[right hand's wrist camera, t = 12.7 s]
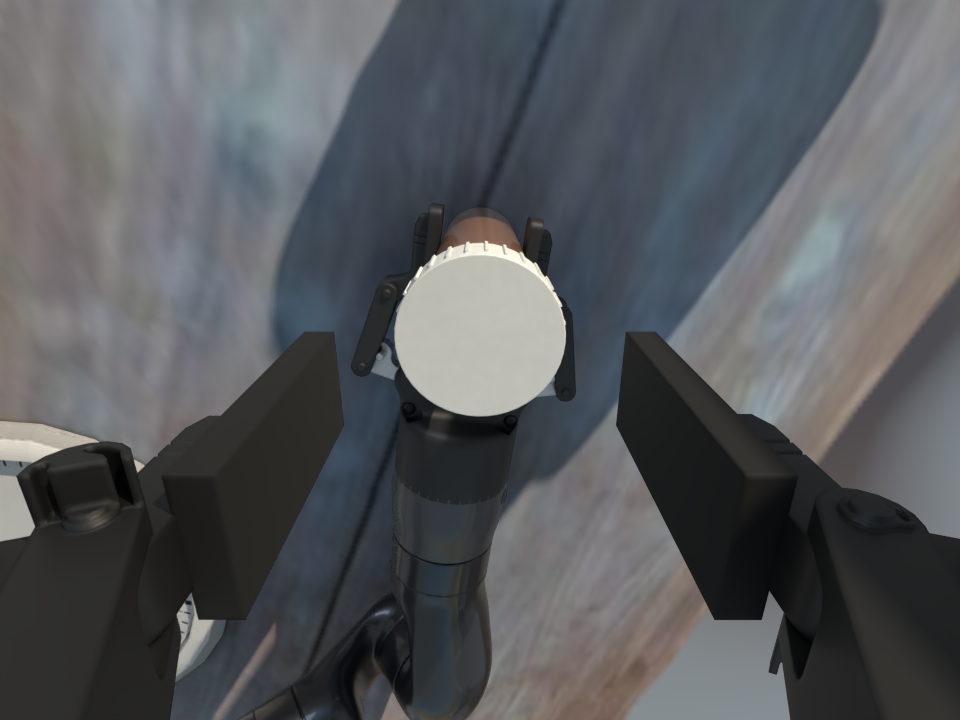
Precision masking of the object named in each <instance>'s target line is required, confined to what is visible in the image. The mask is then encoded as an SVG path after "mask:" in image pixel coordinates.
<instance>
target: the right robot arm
mask: <svg viewBox="0 0 960 720" xmlns="http://www.w3.org/2000/svg"><path fill="white" fill-rule="evenodd" d="M343 426H344V422H343V412H342V403H341V394H340V384H339V375H338V365H337V356H336V346H335V337H334V332H304V333H303V334H302V335H301V336H300V337H299V338H298V339H297V340H296V341H295V342H294V343H293V344H292V345H291V346H290V347H289V348H288V349H287V350H286V351H285V352H284V353H283V354H282V355H281V356H280V357H279V358H278V359H277V360H276V361H275V362H274V363H273V364H272V365H271V366H270V367H269V368H268V369H267V370H266V371H265V372H264V373H263V374H262V375H261V376H260V377H259V378H258V379H257V380H256V381H255V382H254V383H253V384H252V385H251V386H250V387H249V388H248V389H247V390H246V391H245V392H244V393H243V394H242V395H241V396H240V397H239V398H238V399H237V400H236V401H235V402H234V403H233V404H232V405H231V406H230V407H229V408H228V409H227V410H226V411H225V412H224V413H223V414H222V415H221V416H208V417H206V418H204V419H202V420H200V421H198V422H196V423H194V424H192V425H191V426H189V427H187V428H185V429H184V430H183V431H182V432H181V433H180V434H179V435H178V436H177V437H176V438H174V439H173V440H172V441H171V445H167V446H166V447H165V448H164V449H163V450H162V451H160V452H159V453H158V457H154V458H153V459H152V460H151V461H150V462H149V463H147V464H146V465H145V466H144V467H143V468H142V469H141V470H140V471H139V472H138V473H137V470H136V466H135V462H134V459H133V455H132V451H131V448H129V447H128V446H126V445H124V444H123V443H117V442H108V441H107V442H95V443H87V444H82V445H78V446H74V447H69V448H66V449H63V450H60V451H57V452H55V453H52V454H49V455H47V456H44V457H43V458H41V459H39V460H37V461H35V462H33V463H32V464H30V465H28V466H27V467H26V468H24V469H23V470H22V471H21V472H20V473H19V474H18V475H17V476H16V477H17V480H18V483H19V485H20V488H21V491H22V493H23V496H24V499H25V501H26V504H27V507H28V509H29V512H30V515H31V517H32V520H33V523H34V525H35V528H34V530H33V531H32V533H31V535H30V536H26V537H21V538H16V539H11V540H5V541H0V720H170V715H171V708H172V701H173V694H174V687H175V680H176V673H177V666H178V659H179V652H180V645H181V630H180V625H179V621H178V618H177V613H178V612H179V610H180V609H181V607H182V606H183V604H184V603H185V601H186V600H187V598H188V597H189V595H190V594H191V593H192V597H193V601H194V605H195V609H196V613H197V617H198V620H246V618H247V616H248V614H249V612H250V610H251V608H252V606H253V604H254V602H255V600H256V598H257V596H258V594H259V592H260V590H261V588H262V586H263V584H264V582H265V580H266V578H267V576H268V574H269V572H270V570H271V568H272V566H273V564H274V562H275V560H276V558H277V556H278V554H279V552H280V550H281V548H282V546H283V545H284V543H285V541H286V539H287V537H288V535H289V533H290V531H291V529H292V527H293V525H294V523H295V521H296V519H297V517H298V515H299V513H300V511H301V509H302V507H303V505H304V503H305V501H306V499H307V497H308V495H309V493H310V491H311V489H312V487H313V485H314V483H315V481H316V479H317V477H318V475H319V473H320V471H321V469H322V467H323V465H324V463H325V461H326V460H327V458H328V456H329V454H330V452H331V450H332V448H333V446H334V444H335V442H336V440H337V438H338V436H339V434H340V432H341V430H342V428H343ZM616 426H617V428H618V430H619V432H620V434H621V436H622V438H623V440H624V442H625V444H626V446H627V448H628V450H629V452H630V454H631V456H632V458H633V460H634V461H635V463H636V465H637V467H638V469H639V471H640V473H641V475H642V477H643V479H644V481H645V483H646V485H647V487H648V489H649V491H650V493H651V495H652V497H653V499H654V501H655V503H656V505H657V507H658V509H659V511H660V513H661V515H662V517H663V519H664V521H665V523H666V525H667V527H668V529H669V531H670V533H671V535H672V537H673V539H674V541H675V543H676V545H677V546H678V548H679V550H680V552H681V554H682V556H683V558H684V560H685V562H686V564H687V566H688V568H689V570H690V572H691V574H692V576H693V578H694V580H695V582H696V584H697V586H698V588H699V590H700V592H701V594H702V596H703V598H704V600H705V602H706V604H707V606H708V608H709V610H710V612H711V614H712V616H713V618H714V619H715V620H762V617H763V612H764V609H765V605H766V601H767V597H768V593H769V591H770V592H771V594H772V595H773V597H774V598H775V600H776V601H777V603H778V604H779V606H780V607H781V609H782V610H783V612H784V614H783V618H782V621H781V625H780V628H779V632H778V636H777V639H776V643H775V647H774V650H773V654H772V657H771V661H770V667H769V673H773V674H777V672H778V668H779V665H780V663H781V662H782V664H783V671H784V678H785V685H786V692H787V699H788V706H789V713H790V720H960V539H958V538H952V537H947V536H942V535H936V534H931V533H929V532H928V530H927V528H926V527H925V525H924V524H923V523H922V522H921V521H920V520H919V519H918V518H917V517H916V516H915V514H913V513H911V512H910V511H908V510H907V509H905V508H904V507H902V506H901V505H899V504H898V503H895V502H893V501H891V500H888V499H886V498H884V497H882V496H879V495H876V494H872V493H869V492H865V491H861V490H858V489H849V488H841V487H840V486H839V485H838V484H837V483H836V482H835V481H834V480H833V479H832V478H831V477H829V476H828V475H827V474H826V473H825V472H824V471H823V470H822V469H821V468H820V467H819V466H817V465H816V464H815V463H814V462H813V461H812V460H811V459H810V458H809V457H808V456H807V455H803V454H802V451H801V450H800V449H799V448H798V447H797V446H796V445H795V444H793V443H790V440H789V439H788V438H787V437H786V436H785V435H784V434H783V433H781V432H780V431H779V430H778V429H777V428H776V427H775V426H773V425H772V424H770V423H768V422H766V421H764V420H762V419H760V418H758V417H756V416H754V415H752V414H737V413H736V412H735V411H734V410H733V409H732V408H731V407H730V406H729V405H728V404H727V403H726V402H725V401H724V400H723V399H722V398H721V397H720V396H719V395H718V394H717V393H716V392H715V391H714V390H713V389H712V388H711V387H710V386H709V385H708V384H707V383H706V382H705V381H704V380H703V379H702V378H701V377H700V376H699V375H698V374H697V373H696V372H695V371H694V370H693V369H692V368H691V367H690V366H689V365H688V364H687V363H686V362H685V361H684V360H683V359H682V358H681V357H680V356H679V355H678V354H677V353H676V352H675V351H674V350H673V349H672V348H671V347H670V346H669V345H668V344H667V343H666V342H665V341H664V340H663V339H662V338H661V337H660V336H659V335H658V334H657V333H656V332H626V337H625V346H624V356H623V365H622V375H621V384H620V394H619V403H618V412H617V422H616Z"/></svg>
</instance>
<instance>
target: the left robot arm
mask: <svg viewBox="0 0 960 720" xmlns="http://www.w3.org/2000/svg"><path fill="white" fill-rule="evenodd" d="M443 216H444V205H441V204H434V203H432V204H431V205H430V208H429V214H427V213H422V214H421V215H420V216H419V218H418V220H417V222H416V224H415V232H414V243H413V254H412V265H411V270H410V271H408V272H407V273H403V274H399V275H388V276H387V277H386V278H385V279H384V280H383V281H382V283H381V284H380V285H379V287H378V288H377V290H376V293H375V296H374V299H373V302H372V305H371V308H370V311H369V314H368V317H367V320H366V323H365V326H364V328H363V331H362V334H361V337H360V340H359V343H358V346H357V349H356V352H355V355H354V358H353V361H352V364H351V368H352V371H353V372H354V373H355V374H356V375H358V376H362V377H363V376H367V375H368V374H369V373H370V372H372V373H375V374H377V375H380V376H383V377H386V378H388V379H391V380H394V383H395V386H396V389H397V390H398V393H399V395H400V400H401V406H400V417H399V427H398V438H397V449H396V460H395V471H394V474H393V477H392V489H393V493H392V509H393V534H392V544H391V555H390V572H389V573H390V584H391V587H392V591H391V592H389V593H388V594H386V595H385V596H384V597H382V598H381V599H380V600H379V601H378V602H377V603H375V604H374V605H373V606H372V607H371V608H370V610H369V611H368V612H367V613H366V614H365V615H364V616H363V617H362V618H361V619H360V620H359V621H358V622H357V623H356V624H355V626H354V627H353V628H352V629H351V630H350V631H349V632H348V633H347V634H346V635H345V636H344V637H343V638H342V639H341V640H340V641H339V642H338V643H337V644H336V645H335V646H334V647H333V648H332V649H331V650H330V651H329V652H328V653H327V654H326V655H325V656H324V657H323V659H322V660H321V661H320V662H319V663H318V664H317V665H316V666H315V667H314V668H313V669H312V670H311V671H309V672H308V673H307V674H306V675H304V676H303V677H301V678H299V679H298V680H296V681H295V682H293V683H292V685H289V686H287V687H286V688H284V689H283V690H281V691H279V692H278V693H276V694H275V695H273V696H272V697H270V698H269V699H267V700H266V701H264V702H263V703H261V704H260V705H258V706H257V707H255V709H252V710H251V711H249V712H248V713H246V714H245V715H243V716H242V717H240V718H239V719H238V720H366V719H365V715H364V710H363V700H364V698H365V696H366V694H367V692H368V691H369V689H370V688H371V686H372V685H373V683H374V682H375V681H376V679H377V678H378V677H379V676H380V675H381V674H383V675H384V677H385V679H386V680H387V682H388V684H389V686H390V688H391V689H392V691H393V693H394V695H395V697H396V699H397V701H398V703H399V704H400V706H401V708H402V710H403V711H404V713H405V714H406V716H407V717H408V718H409V719H410V720H465V719H466V718H468V716H469V715H470V714H471V713H472V712H473V711H474V709H475V708H476V707H477V705H478V704H479V702H480V700H481V698H482V696H483V694H484V692H485V689H486V687H487V683H488V680H489V676H490V671H491V663H492V641H491V630H490V619H489V608H488V600H487V594H486V589H485V577H486V572H487V566H488V561H489V556H490V550H491V544H492V539H493V535H494V532H495V529H496V527H497V524H498V521H499V518H500V515H501V510H502V506H503V504H504V501H505V498H506V494H507V486H506V484H507V479H508V473H509V468H510V462H511V457H512V452H513V446H514V441H515V435H516V430H517V425H518V419H519V416H520V413H521V412H522V410H523V409H524V407H525V406H526V405H527V404H528V403H529V402H528V403H526V404H525V405H523V406H521V407H519V408H517V409H515V410H512V411H509V412H506V413H503V414H499V415H493V416H466V415H462V414H457V413H454V412H451V411H448V410H445V409H443V408H441V407H439V406H437V405H435V404H434V403H432V402H431V401H429V400H428V399H426V398H425V397H424V396H423V395H422V394H420V393H419V392H418V391H417V390H416V389H415V387H414V386H413V385H412V384H411V383H410V381H409V380H408V378H407V377H406V375H405V374H404V372H403V370H402V368H401V366H400V363H399V361H397V360H396V359H395V357H394V345H393V343H392V342H391V341H390V340H388V339H386V338H385V336H386V334H387V331H388V328H389V325H390V322H391V319H392V317H393V314H394V311H395V308H396V305H397V303H398V300H402V299H403V297H405V296H404V295H403V293H404V291H405V289H406V288H407V286H408V284H409V282H410V281H412V282H413V280H414V277H415V275H416V273H417V271H418V269H419V268H420V267H422V268H423V267H424V266H425V265H426V264H427V263H428V262H429V261H430V260H431V258H432V256H433V255H436V253H437V250H438V248H439V246H440V244H441V235H442V225H443ZM551 247H552V240H551V235H550V233H549V232H548V230H543V220H542V219H541V218H534V217H528V220H527V225H526V231H525V237H524V243H523V249H522V250H523V253H524V255H525V257H526V258H527V259H528V260H530V261H531V262H532V263H533V264H534V263H536V264H537V265H538V267H539V269H540V271H541V273H542V274H543V275H544V277H546V274H547V268H548V263H549V258H550V252H551ZM557 297H558V299H559V300H560V302H561V304H562V307H560V308H561V310H562V313H563V317H564V320H565V322H566V325H565V330H566V340H565V348H564V354H563V357H562V360H561V363H560V365H559V368H558V370H557V372H556V374H555V375H554V377H553V378H552V380H551V381H550V383H549V384H548V385H547V386H546V387H545V389H544V390H543V391H542V392H541V393H540V394H538V395H537V396H536V397H544V396H554V395H556V396H557V398H558V399H559V400H561V401H565V402H566V401H570V400H572V399H573V398H574V396H575V394H576V386H575V364H574V343H573V321H572V313H571V311H570V309H569V308H568V307H567V304H566V302H565V301H564V299H563V298H561V297H559V296H557Z"/></svg>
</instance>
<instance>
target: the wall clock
mask: <svg viewBox="0 0 960 720" xmlns="http://www.w3.org/2000/svg"><path fill="white" fill-rule="evenodd" d="M95 442H98V441H97V440H95V439H92V438H88V437H85V436H81V435H78V434H74V433H71V432H67V431H64V430H60V429H57V428H53V427H50V426H46V425H43V424H33V423H19V422H5V421H0V541H5V540H11V539H16V538H21V537H26V536H30V535H31V533H32V531H33V530H34V528H35V525H34V523H33V520H32V517H31V515H30V512H29V509H28V507H27V504H26V501H25V499H24V496H23V493H22V491H21V488H20V485H19V483H18V480H17V477H16V476H17V475H18V474H19V473H20V472H21V471H22V470H23V469H24V468H26V467H27V466H28V465H30V464H32V463H33V462H35V461H37V460H39V459H41V458H43V457H44V456H47V455H49V454H52V453H55V452H57V451H60V450H63V449H66V448H69V447H74V446H78V445H82V444H87V443H95ZM134 462H135V466H136V470H137V473H138V472H139V471H140V470H141V469H142V468H143V467H144V465H143V464H141V463H139V462H138V461H136V460H134ZM177 618H178V621H179V625H180V630H181V645H180V652H179V659H178V666H177V673H176V680H175V682H177V681H179V680H180V679H181V678H183V677H184V676H185V675H187V674H188V673H190V672H191V671H192V670H194V669H195V668H196V667H198V666H199V665H200V664H202V663H203V662H204V661H205V660H206V658H207V657H208V655H209V654H210V653H211V651H212V650H213V648H214V647H215V645H216V644H217V642H218V641H219V640H220V638H221V637H222V635H223V633H224V629H225V625H226V621H227V620H198V617H197V613H196V609H195V605H194V601H193V597H192V593H191V594H190V595H189V597H188V598H187V600H186V601H185V603H184V604H183V606H182V607H181V609H180V610H179V612H178V613H177Z"/></svg>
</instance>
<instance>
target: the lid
mask: <svg viewBox="0 0 960 720" xmlns="http://www.w3.org/2000/svg"><path fill="white" fill-rule="evenodd" d="M553 290H554V288H553V286H552V284H551V282H550V281H549V279H548V277H547V276H546V277H544V275H543V274H542V273H541V271H540V269H539V267H538V265H537V264H536V263H534V264H533V263H532V262H531V261H530V260H528V259H527V258H526V257H524V254H523V253H522V252H520V253H518V252H516V251H514V250H511V249H509V248H507V246H506V245H504V244H503V246H500V245H496V244H489V243H488V241H485V243H471V244H470V243H469V242H466V244H464V245H460V246H457V247H453V248H452V247H451V246H450V247H448V250H446V251H444V252H442V253H441V254H439V255H437V256H436V255H433V256H432V258H431V260H430V261H429V262H428V263H427V264H426V265H425V266H424V267H423V268H422V267H420V268H419V269H418V271H417V273H416V275H415V277H414V280H413V282H412V281H410V282H409V284H408V286H407V288H406V289H405V291H404V293H403V295H404V296H405V297H403V299H402V301H401V303H400V304H399V306H398V308H397V311H396V312H397V317H396V322H395V327H394V340H395V349H396V353H397V358H398V360H399V363H400V366H401V368H402V370H403V372H404V374H405V375H406V377H407V378H408V380H409V381H410V383H411V384H412V385H413V386H414V387H415V389H416V390H417V391H418V392H419V393H420V394H422V395H423V396H424V397H425V398H426V399H428V400H429V401H431V402H432V403H434V404H435V405H437V406H439V407H441V408H443V409H445V410H448V411H451V412H454V413H457V414H462V415H466V416H493V415H499V414H503V413H506V412H509V411H512V410H515V409H517V408H519V407H521V406H523V405H525V404H526V403H528V402H529V401H531V400H532V399H534V398H535V397H536V396H537V395H538V394H540V393H541V392H542V391H543V390H544V389H545V387H546V386H547V385H548V384H549V383H550V381H551V380H552V378H553V377H554V375H555V374H556V372H557V370H558V368H559V365H560V363H561V360H562V357H563V354H564V348H565V340H566V330H565V325H566V322H565V320H564V317H563V313H562V310H561V308H560V307H562V304H561V302H560V300H559V299H558V297H557V295H556V293H555V292H553Z"/></svg>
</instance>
